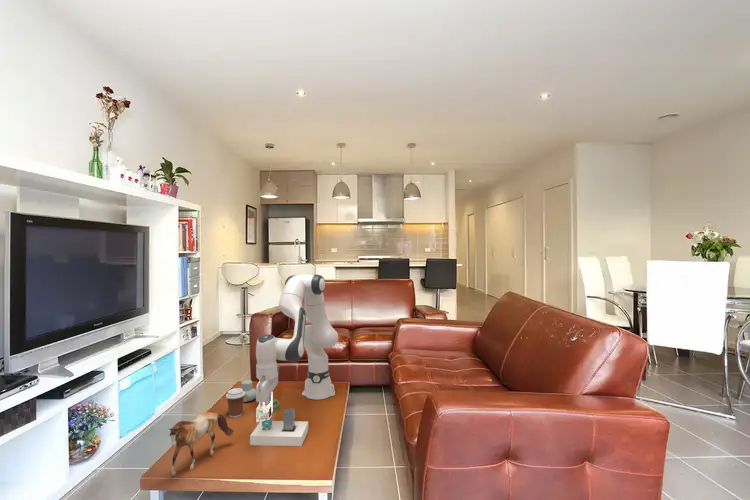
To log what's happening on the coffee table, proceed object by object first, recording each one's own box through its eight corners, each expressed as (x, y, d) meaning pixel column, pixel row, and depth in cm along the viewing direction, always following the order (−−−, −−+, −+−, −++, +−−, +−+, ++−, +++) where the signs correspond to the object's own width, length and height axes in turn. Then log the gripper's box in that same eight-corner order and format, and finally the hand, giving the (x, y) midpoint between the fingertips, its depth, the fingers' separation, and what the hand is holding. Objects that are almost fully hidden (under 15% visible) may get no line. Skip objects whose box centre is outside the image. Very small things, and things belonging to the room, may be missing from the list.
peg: (286, 435, 172) (285, 408, 172) (294, 435, 172) (294, 408, 172) (283, 439, 168) (283, 412, 168) (292, 439, 168) (292, 412, 168)
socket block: (261, 429, 177) (261, 420, 177) (308, 430, 176) (308, 421, 176) (250, 445, 163) (250, 435, 163) (301, 446, 162) (301, 436, 162)
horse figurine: (173, 486, 136) (172, 428, 135) (157, 481, 139) (156, 424, 138) (235, 443, 165) (235, 396, 164) (221, 440, 168) (221, 393, 167)
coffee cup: (236, 419, 187) (236, 395, 187) (221, 416, 190) (221, 392, 190) (249, 412, 196) (248, 388, 195) (234, 409, 199) (234, 386, 199)
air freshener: (233, 402, 208) (233, 383, 208) (242, 396, 216) (242, 378, 216) (251, 403, 206) (251, 385, 206) (259, 397, 214) (259, 380, 214)
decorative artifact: (279, 412, 196) (279, 404, 206) (279, 398, 196) (279, 391, 206) (259, 414, 193) (259, 406, 203) (259, 400, 193) (259, 393, 203)
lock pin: (263, 434, 172) (263, 419, 172) (273, 434, 172) (273, 420, 172) (260, 439, 168) (260, 424, 168) (270, 439, 168) (270, 424, 168)
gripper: (266, 381, 159) (267, 414, 160) (280, 364, 180) (281, 394, 180) (251, 381, 159) (252, 414, 160) (266, 364, 180) (267, 394, 180)
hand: (267, 403), depth 170 cm, fingers closed
